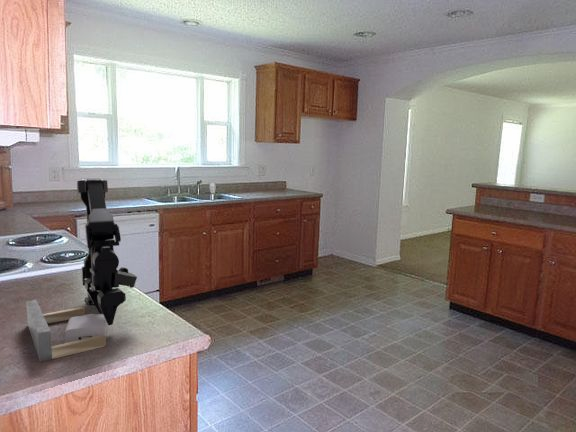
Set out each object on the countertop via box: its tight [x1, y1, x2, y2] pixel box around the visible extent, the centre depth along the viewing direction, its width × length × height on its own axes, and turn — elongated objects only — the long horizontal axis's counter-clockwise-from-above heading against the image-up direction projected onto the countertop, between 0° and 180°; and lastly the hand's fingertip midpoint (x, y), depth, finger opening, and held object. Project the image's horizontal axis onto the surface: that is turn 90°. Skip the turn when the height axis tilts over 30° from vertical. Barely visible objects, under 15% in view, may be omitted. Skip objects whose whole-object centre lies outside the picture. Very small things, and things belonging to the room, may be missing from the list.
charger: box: [64, 313, 108, 343], centre depth 115 cm, size 5×9×15 cm
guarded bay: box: [25, 299, 107, 363], centre depth 112 cm, size 25×14×7 cm, turn 37°
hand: (105, 319), depth 118 cm, fingers open, 9 cm apart
